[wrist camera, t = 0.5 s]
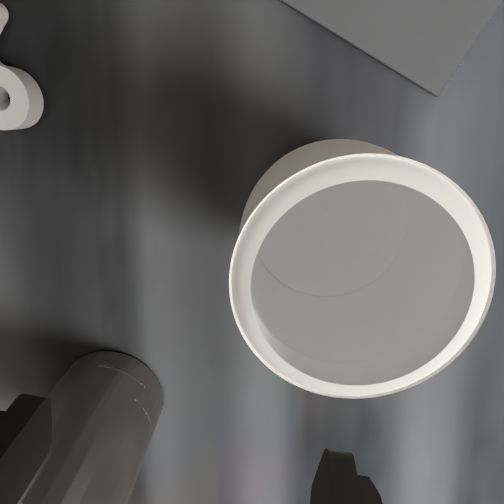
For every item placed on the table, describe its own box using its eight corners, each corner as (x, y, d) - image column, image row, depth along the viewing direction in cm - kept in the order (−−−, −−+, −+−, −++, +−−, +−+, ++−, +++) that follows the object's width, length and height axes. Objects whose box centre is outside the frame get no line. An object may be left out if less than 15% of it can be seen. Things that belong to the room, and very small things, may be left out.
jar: (229, 155, 29) (188, 203, 15) (372, 108, 27) (480, 111, 13) (272, 284, 32) (273, 424, 18) (402, 249, 30) (513, 372, 16)
